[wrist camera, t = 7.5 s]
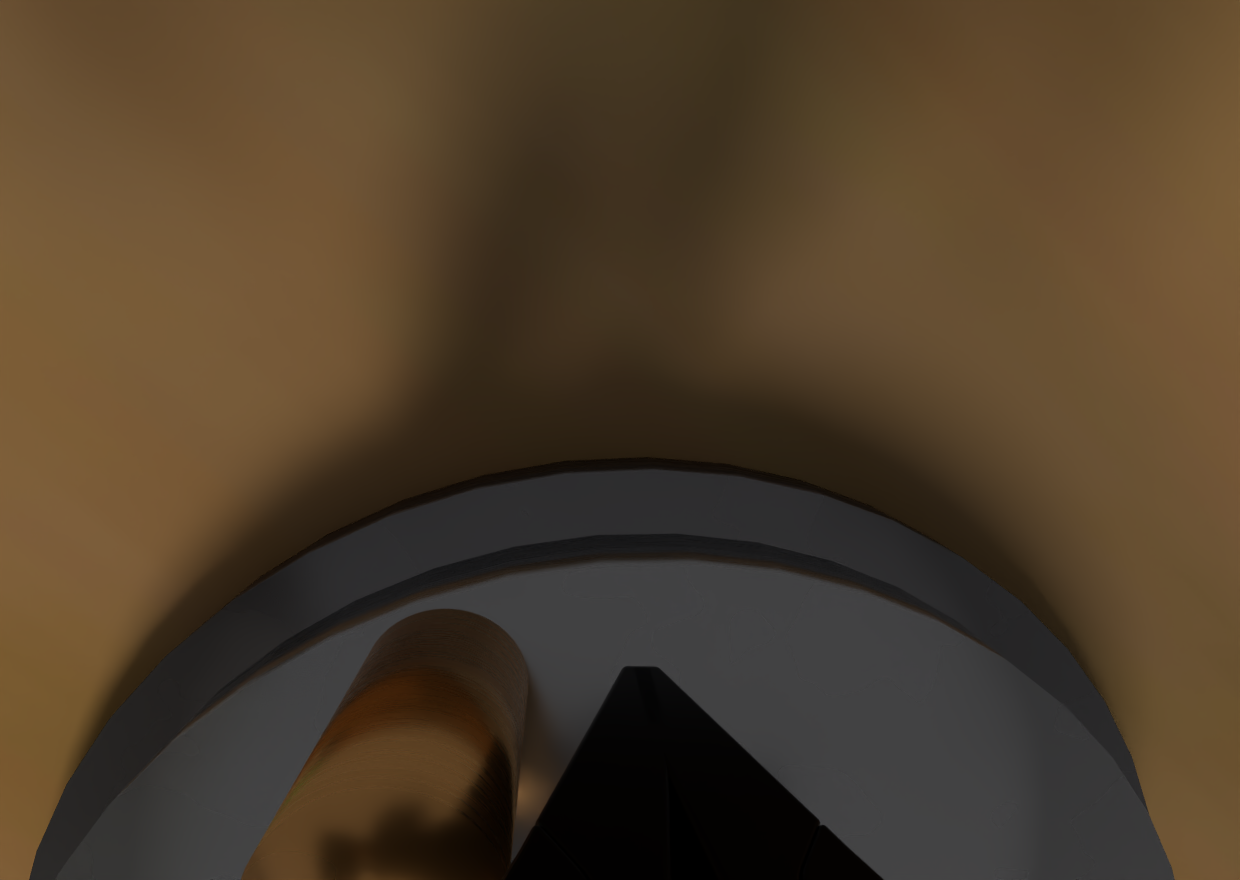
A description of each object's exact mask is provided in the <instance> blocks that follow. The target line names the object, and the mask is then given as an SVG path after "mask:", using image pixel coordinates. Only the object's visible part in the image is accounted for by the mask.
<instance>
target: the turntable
mask: <svg viewBox="0 0 1240 880" xmlns="http://www.w3.org/2000/svg"><path fill="white" fill-rule="evenodd" d="M625 666H656V667H659V668H660V669H661V670H662V671H663V672H664V673H666V674H667V675H668V676H669V677H670V678H671V679H672V680H673V681H674V682H675V683H676V684H677V685H678V686H679V687H680V688H681V689H682V690H683V691H684V692H686V693H687V694H688V695H689V696H690V697H691V698H692V699H693V700H694V701H695V702H696V703H697V704H698V705H699V706H700V707H701V708H702V709H703V710H704V711H705V712H707V713H708V714H709V715H710V716H711V717H712V718H713V719H714V720H715V721H716V722H717V723H718V724H719V725H720V726H721V727H722V728H723V729H724V730H725V731H727V732H728V733H729V734H730V735H731V736H732V737H733V738H734V739H735V740H736V741H737V742H738V743H739V744H740V745H741V746H742V747H743V748H744V749H745V750H746V751H748V752H749V753H750V754H751V755H752V756H753V757H754V758H755V759H756V760H757V761H758V762H759V763H760V764H761V765H762V766H763V767H764V768H765V769H766V770H767V771H769V772H770V773H771V774H772V775H773V776H774V777H775V778H776V779H777V780H778V781H779V782H780V783H781V784H782V785H783V786H784V787H785V788H786V789H787V790H789V791H790V792H791V793H792V794H793V795H794V796H795V797H796V798H797V799H798V800H799V801H800V802H801V803H802V804H803V805H804V806H805V807H806V808H807V809H808V810H810V811H811V812H812V813H813V814H814V815H815V816H816V817H817V818H818V819H819V820H820V825H826V826H827V827H828V828H829V829H830V830H831V831H832V832H833V833H834V834H835V835H836V836H837V837H838V838H839V839H840V840H841V841H842V842H844V843H845V844H846V845H847V846H848V847H849V848H850V849H851V850H852V851H853V852H854V853H855V854H857V855H858V856H859V857H860V858H861V859H862V860H863V861H864V862H865V863H866V864H868V865H869V866H870V867H871V868H872V869H873V870H874V871H875V872H876V873H877V874H879V875H880V876H881V877H882V878H883V879H884V880H1174V876H1173V871H1172V867H1171V865H1170V863H1169V860H1168V858H1167V856H1166V853H1165V851H1164V849H1163V846H1162V844H1161V842H1160V839H1159V837H1158V835H1157V832H1156V830H1155V828H1154V825H1153V823H1152V821H1151V818H1150V816H1149V814H1148V811H1147V810H1146V808H1145V807H1144V805H1143V804H1142V802H1141V801H1140V799H1139V798H1138V796H1137V794H1136V793H1135V791H1134V790H1133V788H1132V787H1131V785H1130V784H1129V782H1128V781H1127V779H1126V777H1125V776H1124V774H1123V773H1122V771H1121V770H1120V768H1119V767H1118V765H1117V764H1116V762H1115V760H1114V759H1113V757H1112V756H1111V755H1110V754H1109V753H1108V752H1107V751H1106V750H1105V749H1104V748H1103V747H1102V745H1101V744H1100V743H1099V742H1098V741H1097V740H1096V739H1095V738H1094V737H1093V736H1092V735H1091V733H1090V732H1089V731H1088V730H1087V729H1086V728H1085V727H1084V726H1083V725H1082V724H1081V722H1080V721H1079V720H1078V719H1077V718H1076V717H1075V716H1074V715H1073V714H1072V713H1071V712H1070V710H1069V709H1068V708H1067V707H1065V706H1064V705H1063V704H1062V703H1060V702H1059V701H1058V700H1057V699H1055V698H1054V697H1053V696H1052V695H1050V694H1049V693H1048V692H1046V691H1045V690H1044V689H1043V688H1041V687H1040V686H1039V685H1038V684H1036V683H1035V682H1034V681H1033V680H1031V679H1030V678H1029V677H1028V676H1026V675H1025V674H1024V673H1022V672H1021V671H1020V670H1019V669H1017V668H1016V667H1015V666H1014V665H1012V664H1011V663H1010V662H1009V661H1007V660H1006V659H1005V658H1004V657H1002V656H1001V655H1000V654H998V653H997V652H996V651H995V650H993V649H992V648H991V647H990V646H988V645H987V644H986V643H985V642H983V641H982V640H981V639H979V638H978V637H977V636H976V635H974V634H973V633H972V632H971V631H969V630H968V629H967V628H966V627H964V626H963V625H962V624H960V623H959V622H958V621H956V620H955V619H953V618H951V617H949V616H948V615H946V614H944V613H942V612H941V611H939V610H937V609H935V608H934V607H932V606H930V605H928V604H927V603H925V602H923V601H921V600H920V599H918V598H916V597H914V596H913V595H911V594H909V593H907V592H906V591H904V590H902V589H900V588H899V587H896V586H894V585H891V584H889V583H886V582H884V581H881V580H879V579H876V578H874V577H871V576H869V575H866V574H864V573H861V572H859V571H856V570H854V569H851V568H849V567H846V566H843V565H841V564H838V563H836V562H833V561H831V560H827V559H823V558H819V557H815V556H811V555H807V554H802V553H798V552H794V551H790V550H786V549H782V548H778V547H774V546H770V545H766V544H762V543H758V542H750V541H741V540H732V539H723V538H714V537H705V536H696V535H687V534H623V535H593V536H586V537H579V538H572V539H564V540H557V541H550V542H543V543H536V544H529V545H522V546H515V547H511V548H507V549H504V550H500V551H496V552H492V553H489V554H485V555H481V556H478V557H474V558H470V559H467V560H463V561H459V562H455V563H452V564H448V565H444V566H441V567H437V568H433V569H431V570H428V571H426V572H423V573H421V574H419V575H416V576H414V577H411V578H409V579H406V580H404V581H401V582H399V583H397V584H394V585H392V586H389V587H387V588H384V589H382V590H379V591H377V592H375V593H372V594H370V595H367V596H365V597H362V598H360V599H357V600H355V601H354V602H352V603H350V604H348V605H346V606H345V607H343V608H341V609H339V610H338V611H336V612H334V613H332V614H331V615H329V616H327V617H325V618H324V619H322V620H320V621H318V622H316V623H315V624H313V625H311V626H309V627H308V628H306V629H304V630H302V631H301V632H299V633H297V634H295V635H294V636H292V637H290V638H288V639H286V640H285V641H283V642H282V643H281V644H279V645H278V646H277V647H275V648H274V649H273V650H271V651H270V652H269V653H267V654H266V655H265V656H264V657H262V658H261V659H260V660H258V661H257V662H256V663H254V664H253V665H252V666H250V667H249V668H248V669H246V670H245V671H244V672H242V673H241V674H240V675H238V676H237V677H236V678H234V679H233V680H232V681H230V682H229V683H228V684H227V685H225V686H224V687H223V688H221V689H220V690H219V691H218V692H217V693H216V694H215V695H214V696H213V697H212V698H211V699H210V700H209V701H208V702H207V703H206V704H205V705H204V706H203V707H202V708H201V709H200V710H199V711H198V712H197V713H196V714H195V715H194V716H193V717H192V718H191V719H190V720H189V721H188V722H187V723H186V724H185V725H184V726H183V727H182V728H181V729H180V730H179V731H178V732H177V733H176V734H175V735H174V736H173V737H172V738H171V739H170V740H169V741H168V742H167V743H166V744H165V745H164V746H163V748H162V749H161V750H160V751H159V752H158V753H157V754H156V755H155V756H154V757H153V758H152V759H151V760H150V762H149V763H148V764H147V765H146V766H145V767H144V768H143V769H142V770H141V771H140V772H139V773H138V774H137V776H136V777H135V778H134V779H133V780H132V781H131V782H130V783H129V784H128V785H127V786H126V787H125V788H124V790H123V791H122V792H121V793H120V794H119V795H118V796H117V797H116V798H115V799H114V800H113V801H112V802H111V804H110V805H109V806H108V807H107V808H106V810H105V811H104V812H103V814H102V815H101V816H100V818H99V819H98V820H97V822H96V823H95V824H94V826H93V827H92V828H91V830H90V831H89V832H88V834H87V835H86V837H85V838H84V839H83V841H82V842H81V843H80V845H79V846H78V847H77V849H76V850H75V851H74V853H73V854H72V855H71V857H70V858H69V860H68V861H67V862H66V864H65V865H64V866H63V868H62V869H61V870H60V872H59V873H58V875H57V877H56V879H55V880H501V879H502V878H503V876H504V874H505V873H506V871H507V869H508V868H509V866H510V865H511V863H512V861H513V860H514V858H515V856H516V855H517V853H518V852H519V850H520V848H521V846H522V844H523V843H524V841H525V839H526V837H527V836H528V834H529V832H530V830H531V829H532V827H533V826H535V823H536V820H537V819H538V817H539V815H540V813H541V811H542V810H543V808H544V806H545V804H546V803H547V801H548V799H549V797H550V795H551V794H552V792H553V790H554V788H555V787H556V785H557V783H558V781H559V780H560V778H561V776H562V774H563V772H564V771H565V769H566V767H567V765H568V764H569V762H570V760H571V758H572V756H573V755H574V753H575V751H576V749H577V748H578V746H579V744H580V742H581V740H582V739H583V737H584V735H585V733H586V732H587V730H588V728H589V726H590V725H591V723H592V721H593V719H594V717H595V716H596V714H597V712H598V710H599V709H600V707H601V705H602V703H603V701H604V700H605V698H606V696H607V694H608V693H609V691H610V689H611V687H612V685H613V684H614V682H615V680H616V678H617V677H618V675H619V673H620V671H621V670H622V668H623V667H625Z"/></svg>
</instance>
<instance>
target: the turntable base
mask: <svg viewBox="0 0 1240 880" xmlns="http://www.w3.org/2000/svg"><path fill="white" fill-rule="evenodd" d="M623 534H687V535H696V536H705V537H714V538H723V539H732V540H741V541H750V542H758V543H762V544H766V545H770V546H774V547H778V548H782V549H786V550H790V551H794V552H798V553H802V554H807V555H811V556H815V557H819V558H823V559H827V560H831V561H833V562H836V563H838V564H841V565H843V566H846V567H849V568H851V569H854V570H856V571H859V572H861V573H864V574H866V575H869V576H871V577H874V578H876V579H879V580H881V581H884V582H886V583H889V584H891V585H894V586H896V587H899V588H900V589H902V590H904V591H906V592H907V593H909V594H911V595H913V596H914V597H916V598H918V599H920V600H921V601H923V602H925V603H927V604H928V605H930V606H932V607H934V608H935V609H937V610H939V611H941V612H942V613H944V614H946V615H948V616H949V617H951V618H953V619H955V620H956V621H958V622H959V623H960V624H962V625H963V626H964V627H966V628H967V629H968V630H969V631H971V632H972V633H973V634H974V635H976V636H977V637H978V638H979V639H981V640H982V641H983V642H985V643H986V644H987V645H988V646H990V647H991V648H992V649H993V650H995V651H996V652H997V653H998V654H1000V655H1001V656H1002V657H1004V658H1005V659H1006V660H1007V661H1009V662H1010V663H1011V664H1012V665H1014V666H1015V667H1016V668H1017V669H1019V670H1020V671H1021V672H1022V673H1024V674H1025V675H1026V676H1028V677H1029V678H1030V679H1031V680H1033V681H1034V682H1035V683H1036V684H1038V685H1039V686H1040V687H1041V688H1043V689H1044V690H1045V691H1046V692H1048V693H1049V694H1050V695H1052V696H1053V697H1054V698H1055V699H1057V700H1058V701H1059V702H1060V703H1062V704H1063V705H1064V706H1065V707H1067V708H1068V709H1069V710H1070V712H1071V713H1072V714H1073V715H1074V716H1075V717H1076V718H1077V719H1078V720H1079V721H1080V722H1081V724H1082V725H1083V726H1084V727H1085V728H1086V729H1087V730H1088V731H1089V732H1090V733H1091V735H1092V736H1093V737H1094V738H1095V739H1096V740H1097V741H1098V742H1099V743H1100V744H1101V745H1102V747H1103V748H1104V749H1105V750H1106V751H1107V752H1108V753H1109V754H1110V755H1111V756H1112V757H1113V759H1114V760H1115V762H1116V764H1117V765H1118V767H1119V768H1120V770H1121V771H1122V773H1123V774H1124V776H1125V777H1126V779H1127V781H1128V782H1129V784H1130V785H1131V787H1132V788H1133V790H1134V791H1135V793H1136V794H1137V796H1138V798H1139V799H1140V801H1141V802H1142V804H1143V805H1144V807H1145V808H1146V810H1147V806H1146V803H1145V800H1144V796H1143V793H1142V789H1141V786H1140V783H1139V779H1138V776H1137V773H1136V769H1135V766H1134V763H1133V759H1132V756H1131V754H1130V752H1129V750H1128V748H1127V746H1126V744H1125V742H1124V740H1123V738H1122V736H1121V734H1120V732H1119V730H1118V728H1117V726H1116V724H1115V721H1114V719H1113V717H1112V715H1111V713H1110V711H1109V709H1108V707H1107V705H1106V703H1105V701H1104V700H1103V698H1102V697H1101V695H1100V694H1099V693H1098V691H1097V690H1096V688H1095V687H1094V686H1093V684H1092V683H1091V681H1090V680H1089V678H1088V677H1087V676H1086V674H1085V673H1084V671H1083V670H1082V669H1081V667H1080V666H1079V664H1078V663H1077V662H1076V660H1075V659H1074V657H1073V656H1072V654H1071V653H1070V652H1069V650H1068V649H1067V648H1066V647H1065V646H1064V645H1063V644H1062V643H1061V642H1060V641H1059V640H1058V639H1057V638H1056V637H1055V636H1054V635H1053V634H1052V633H1051V632H1050V631H1049V629H1048V628H1047V627H1046V626H1045V625H1044V624H1043V623H1042V622H1041V621H1040V620H1039V619H1038V618H1037V617H1036V616H1035V615H1034V614H1033V613H1032V612H1031V611H1030V610H1029V609H1028V608H1027V607H1026V606H1025V605H1024V604H1023V603H1022V602H1021V601H1020V600H1019V599H1017V598H1016V597H1015V596H1013V595H1012V594H1011V593H1009V592H1008V591H1007V590H1005V589H1004V588H1003V587H1001V586H1000V585H999V584H997V583H996V582H995V581H993V580H992V579H990V578H989V577H988V576H986V575H985V574H984V573H982V572H981V571H980V570H978V569H977V568H976V567H974V566H973V565H972V564H970V563H969V562H968V561H966V560H965V559H964V558H962V557H961V556H959V555H957V554H956V553H954V552H952V551H951V550H949V549H948V548H946V547H944V546H943V545H941V544H940V543H938V542H936V541H935V540H933V539H931V538H929V537H928V536H926V535H924V534H922V533H920V532H918V531H916V530H915V529H913V528H911V527H909V526H907V525H905V524H903V523H902V522H900V521H898V520H896V519H894V518H892V517H890V516H889V515H887V514H885V513H883V512H881V511H879V510H877V509H876V508H874V507H872V506H870V505H867V504H864V503H861V502H859V501H856V500H853V499H851V498H848V497H845V496H842V495H840V494H837V493H834V492H831V491H829V490H826V489H823V488H821V487H818V486H815V485H812V484H810V483H807V482H804V481H801V480H797V479H792V478H788V477H783V476H779V475H774V474H770V473H765V472H760V471H756V470H751V469H747V468H742V467H738V466H733V465H728V464H720V463H708V462H696V461H684V460H672V459H660V458H648V457H644V458H622V459H600V460H578V461H563V462H557V463H551V464H546V465H540V466H534V467H528V468H523V469H517V470H511V471H505V472H500V473H494V474H488V475H483V476H479V477H476V478H473V479H470V480H467V481H463V482H460V483H457V484H454V485H450V486H447V487H444V488H441V489H437V490H434V491H431V492H428V493H424V494H421V495H418V496H415V497H411V498H408V499H405V500H402V501H400V502H398V503H396V504H393V505H391V506H389V507H387V508H385V509H383V510H380V511H378V512H376V513H374V514H372V515H369V516H367V517H365V518H363V519H361V520H358V521H356V522H354V523H352V524H350V525H347V526H345V527H343V528H341V529H339V530H336V531H334V532H332V533H330V534H328V535H326V536H325V537H323V538H321V539H320V540H318V541H317V542H315V543H313V544H312V545H310V546H309V547H307V548H305V549H304V550H302V551H301V552H299V553H297V554H296V555H294V556H293V557H291V558H289V559H288V560H286V561H285V562H283V563H281V564H280V565H278V566H277V567H275V568H273V569H272V570H270V571H269V572H267V573H266V574H264V575H262V576H261V577H259V578H258V579H257V580H256V581H254V582H253V583H252V584H251V585H250V586H248V587H247V588H246V589H245V590H244V591H242V592H241V593H240V594H239V595H238V596H236V597H235V598H234V599H233V600H232V601H230V602H229V603H228V604H227V605H226V606H224V607H223V608H222V609H221V610H220V611H218V612H217V613H216V614H215V615H214V616H212V617H211V618H210V619H209V620H208V621H206V622H205V623H204V624H203V625H202V626H200V627H199V628H198V629H197V630H196V631H195V632H193V633H192V634H191V635H190V636H189V637H188V638H186V639H185V640H184V641H183V642H182V643H181V644H179V645H178V646H177V647H176V648H175V649H174V650H172V651H171V652H170V653H169V654H168V655H167V656H166V657H165V658H164V659H163V660H162V661H161V662H160V663H159V664H158V665H157V666H156V668H155V669H154V670H153V671H152V672H151V673H150V674H149V675H148V676H147V678H146V679H145V680H144V681H143V682H142V683H141V684H140V685H139V686H138V688H137V689H136V690H135V691H134V692H133V693H132V694H131V695H130V696H129V698H128V699H127V700H126V701H125V702H124V703H123V704H122V705H121V706H120V708H119V709H118V710H117V711H116V712H115V713H114V714H113V715H112V717H111V718H110V719H109V720H108V722H107V724H106V725H105V727H104V728H103V730H102V731H101V733H100V734H99V736H98V737H97V739H96V740H95V742H94V743H93V745H92V746H91V748H90V749H89V751H88V752H87V754H86V756H85V757H84V759H83V760H82V762H81V763H80V765H79V766H78V768H77V769H76V771H75V772H74V774H73V775H72V777H71V778H70V780H69V781H68V783H67V785H66V787H65V789H64V792H63V794H62V796H61V798H60V800H59V803H58V805H57V807H56V809H55V812H54V814H53V816H52V818H51V821H50V823H49V825H48V827H47V829H46V832H45V834H44V836H43V838H42V841H41V843H40V845H39V847H38V850H37V852H36V856H35V860H34V863H33V867H32V871H31V875H30V879H29V880H55V879H56V877H57V875H58V873H59V872H60V870H61V869H62V868H63V866H64V865H65V864H66V862H67V861H68V860H69V858H70V857H71V855H72V854H73V853H74V851H75V850H76V849H77V847H78V846H79V845H80V843H81V842H82V841H83V839H84V838H85V837H86V835H87V834H88V832H89V831H90V830H91V828H92V827H93V826H94V824H95V823H96V822H97V820H98V819H99V818H100V816H101V815H102V814H103V812H104V811H105V810H106V808H107V807H108V806H109V805H110V804H111V802H112V801H113V800H114V799H115V798H116V797H117V796H118V795H119V794H120V793H121V792H122V791H123V790H124V788H125V787H126V786H127V785H128V784H129V783H130V782H131V781H132V780H133V779H134V778H135V777H136V776H137V774H138V773H139V772H140V771H141V770H142V769H143V768H144V767H145V766H146V765H147V764H148V763H149V762H150V760H151V759H152V758H153V757H154V756H155V755H156V754H157V753H158V752H159V751H160V750H161V749H162V748H163V746H164V745H165V744H166V743H167V742H168V741H169V740H170V739H171V738H172V737H173V736H174V735H175V734H176V733H177V732H178V731H179V730H180V729H181V728H182V727H183V726H184V725H185V724H186V723H187V722H188V721H189V720H190V719H191V718H192V717H193V716H194V715H195V714H196V713H197V712H198V711H199V710H200V709H201V708H202V707H203V706H204V705H205V704H206V703H207V702H208V701H209V700H210V699H211V698H212V697H213V696H214V695H215V694H216V693H217V692H218V691H219V690H220V689H221V688H223V687H224V686H225V685H227V684H228V683H229V682H230V681H232V680H233V679H234V678H236V677H237V676H238V675H240V674H241V673H242V672H244V671H245V670H246V669H248V668H249V667H250V666H252V665H253V664H254V663H256V662H257V661H258V660H260V659H261V658H262V657H264V656H265V655H266V654H267V653H269V652H270V651H271V650H273V649H274V648H275V647H277V646H278V645H279V644H281V643H282V642H283V641H285V640H286V639H288V638H290V637H292V636H294V635H295V634H297V633H299V632H301V631H302V630H304V629H306V628H308V627H309V626H311V625H313V624H315V623H316V622H318V621H320V620H322V619H324V618H325V617H327V616H329V615H331V614H332V613H334V612H336V611H338V610H339V609H341V608H343V607H345V606H346V605H348V604H350V603H352V602H354V601H355V600H357V599H360V598H362V597H365V596H367V595H370V594H372V593H375V592H377V591H379V590H382V589H384V588H387V587H389V586H392V585H394V584H397V583H399V582H401V581H404V580H406V579H409V578H411V577H414V576H416V575H419V574H421V573H423V572H426V571H428V570H431V569H433V568H437V567H441V566H444V565H448V564H452V563H455V562H459V561H463V560H467V559H470V558H474V557H478V556H481V555H485V554H489V553H492V552H496V551H500V550H504V549H507V548H511V547H515V546H522V545H529V544H536V543H543V542H550V541H557V540H564V539H572V538H579V537H586V536H593V535H623ZM1147 811H1148V810H1147ZM1148 814H1149V813H1148Z"/></svg>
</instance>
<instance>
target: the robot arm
mask: <svg viewBox="0 0 1240 880" xmlns="http://www.w3.org/2000/svg"><path fill="white" fill-rule="evenodd" d="M501 880H884V879H883V878H882V877H881V876H880V875H879V874H877V873H876V872H875V871H874V870H873V869H872V868H871V867H870V866H869V865H868V864H866V863H865V862H864V861H863V860H862V859H861V858H860V857H859V856H858V855H857V854H855V853H854V852H853V851H852V850H851V849H850V848H849V847H848V846H847V845H846V844H845V843H844V842H842V841H841V840H840V839H839V838H838V837H837V836H836V835H835V834H834V833H833V832H832V831H831V830H830V829H829V828H828V827H827V826H826V825H820V820H819V819H818V818H817V817H816V816H815V815H814V814H813V813H812V812H811V811H810V810H808V809H807V808H806V807H805V806H804V805H803V804H802V803H801V802H800V801H799V800H798V799H797V798H796V797H795V796H794V795H793V794H792V793H791V792H790V791H789V790H787V789H786V788H785V787H784V786H783V785H782V784H781V783H780V782H779V781H778V780H777V779H776V778H775V777H774V776H773V775H772V774H771V773H770V772H769V771H767V770H766V769H765V768H764V767H763V766H762V765H761V764H760V763H759V762H758V761H757V760H756V759H755V758H754V757H753V756H752V755H751V754H750V753H749V752H748V751H746V750H745V749H744V748H743V747H742V746H741V745H740V744H739V743H738V742H737V741H736V740H735V739H734V738H733V737H732V736H731V735H730V734H729V733H728V732H727V731H725V730H724V729H723V728H722V727H721V726H720V725H719V724H718V723H717V722H716V721H715V720H714V719H713V718H712V717H711V716H710V715H709V714H708V713H707V712H705V711H704V710H703V709H702V708H701V707H700V706H699V705H698V704H697V703H696V702H695V701H694V700H693V699H692V698H691V697H690V696H689V695H688V694H687V693H686V692H684V691H683V690H682V689H681V688H680V687H679V686H678V685H677V684H676V683H675V682H674V681H673V680H672V679H671V678H670V677H669V676H668V675H667V674H666V673H664V672H663V671H662V670H661V669H660V668H659V667H656V666H625V667H623V668H622V670H621V671H620V673H619V675H618V677H617V678H616V680H615V682H614V684H613V685H612V687H611V689H610V691H609V693H608V694H607V696H606V698H605V700H604V701H603V703H602V705H601V707H600V709H599V710H598V712H597V714H596V716H595V717H594V719H593V721H592V723H591V725H590V726H589V728H588V730H587V732H586V733H585V735H584V737H583V739H582V740H581V742H580V744H579V746H578V748H577V749H576V751H575V753H574V755H573V756H572V758H571V760H570V762H569V764H568V765H567V767H566V769H565V771H564V772H563V774H562V776H561V778H560V780H559V781H558V783H557V785H556V787H555V788H554V790H553V792H552V794H551V795H550V797H549V799H548V801H547V803H546V804H545V806H544V808H543V810H542V811H541V813H540V815H539V817H538V819H537V820H536V823H535V826H533V827H532V829H531V830H530V832H529V834H528V836H527V837H526V839H525V841H524V843H523V844H522V846H521V848H520V850H519V852H518V853H517V855H516V856H515V858H514V860H513V861H512V863H511V865H510V866H509V868H508V869H507V871H506V873H505V874H504V876H503V878H502V879H501Z"/></svg>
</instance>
